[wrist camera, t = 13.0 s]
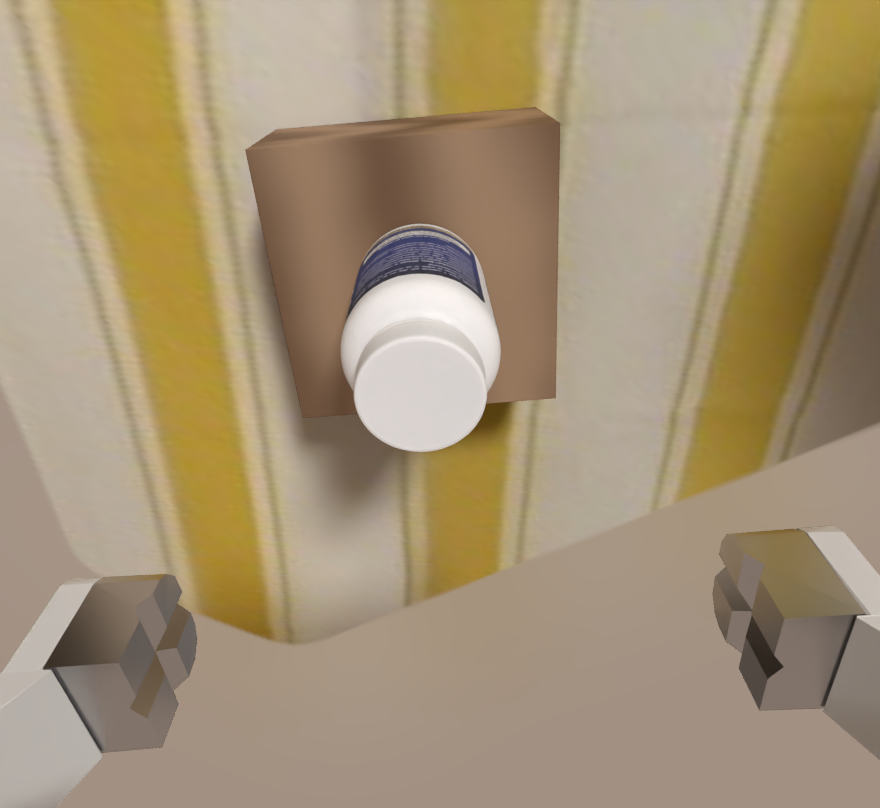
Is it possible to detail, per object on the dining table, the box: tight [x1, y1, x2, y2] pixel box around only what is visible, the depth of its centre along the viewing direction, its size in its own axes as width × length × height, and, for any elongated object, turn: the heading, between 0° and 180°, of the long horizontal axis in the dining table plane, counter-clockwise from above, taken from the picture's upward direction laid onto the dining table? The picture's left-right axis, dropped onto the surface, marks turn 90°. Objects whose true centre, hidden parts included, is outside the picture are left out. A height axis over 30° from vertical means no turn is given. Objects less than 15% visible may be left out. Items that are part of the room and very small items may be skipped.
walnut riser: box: [245, 107, 560, 418], centre depth 30 cm, size 12×12×6 cm
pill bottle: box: [341, 224, 501, 452], centre depth 23 cm, size 5×5×10 cm
